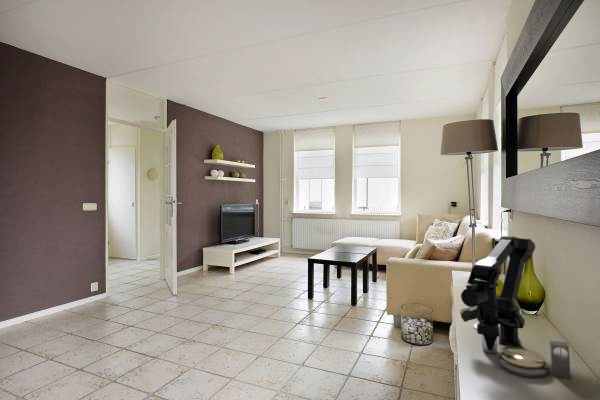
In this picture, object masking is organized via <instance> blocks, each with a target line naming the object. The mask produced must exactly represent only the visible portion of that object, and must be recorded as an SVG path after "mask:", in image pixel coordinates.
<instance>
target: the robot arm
mask: <svg viewBox="0 0 600 400" xmlns="http://www.w3.org/2000/svg"><path fill="white" fill-rule="evenodd" d="M535 250H536V244H535V242H534V241H532V239H530V238H523V237H522V238H520V237H517V236H512V235H510V236H509V235H503V236H500V238H499V241H498V243H497V244H496V245H495V247H494V248H493V249H492V250H491V251H490V253H489V254H488V255H487V257H485V258H482V259H480V260H478V261H477V262H475V264H474V265H473V266H472V268H471V270H470V274H469V277H468V280H467V284H466V285H465V287H466V289H463V290H462V292H461V294H460V299H461V301H462V303H463V305H465V306H467V307H465V308H462V309H460V311H459V314H460V318H461V319H462V320H463V322H465V323H466V322H468V321H471V320H476V319H477V321H478V322H477V323H478V324H477V329H476V332H477V333H476V334H478V335H482V334H483V335H484V338H485V341H486V345H487V348H488V350H492V348H493V346H494V344H495V341H496V339H497V340H498V343H499V344H501V345H508V346H517V347H521V339H520V338H519V337H520V336H519V329H524V327H525V322H526V321H525V319H524V317H523V316H522V314H521V313H520V311H521V308H520V306H519V303H518V301H517V299H518V295H519V289H520V286H521V281H522V277H523V272H524V269H525V265H526V263H527V262H528V261H529V260H530V259H531V258H532V257H533V254H534V251H535ZM508 257H509V261H508V264H507V268H506V274H505V276H504V281H503V285H502V290H501V293H500V295H499V296H498V297H497V287H499V286H500V284H499V283H498V282H497V281H498V280H499V278H500V276H501V274H502V272H501V267H502V265H503V264H504V262H505V261H506V260H507V259H508ZM499 332H500V333H499Z"/></svg>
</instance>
